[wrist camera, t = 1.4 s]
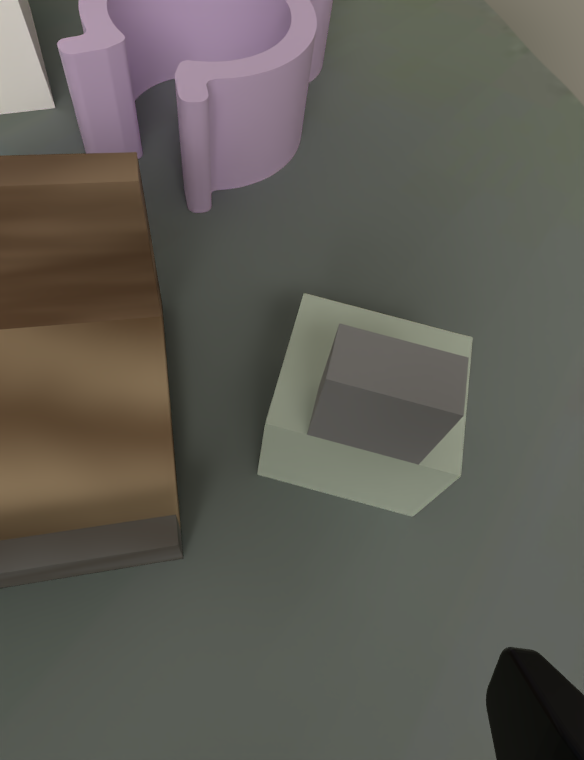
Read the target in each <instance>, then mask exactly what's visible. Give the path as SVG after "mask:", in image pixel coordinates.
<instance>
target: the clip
mask: <svg viewBox="0 0 584 760" xmlns="http://www.w3.org/2000/svg"><path fill="white" fill-rule="evenodd" d="M332 3H333V0H79V13H80V18H81V22H82V27H83V32H84V34H83V35H80V36H74V37H68V38H63V39H61V40H59V41H58V43H57V46H58V50H59V53H60V57H61V61H62V65H63V69H64V72H65V76H66V80H67V84H68V87H69V91H70V95H71V99H72V103H73V106H74V110H75V114H76V118H77V121H78V125H79V129H80V133H81V137H82V140H83V144H84V148H85V152H86V154H87V153H126V152H137V157H138V159H139V158H141V157H142V155H143V151H142V144H141V138H140V132H139V125H138V119H137V112H136V106H135V100H136V99H137V98H138V97H139V96H140V95H141V94H142V93H143V92H144V91H146V90H147V89H149V88H151V87H152V86H154V85H156V84H159V83H161V82H164V81H167V80H171V79H175V86H176V98H177V110H178V122H179V134H180V146H181V158H182V171H183V183H184V191H185V197H186V202H187V207H188V209H189V210H190V211H192V212H194V213H202V212H207V211H209V210H210V209H211V207H212V203H211V193H212V192H213V191H215V190H225V189H233V188H238V187H243V186H247V185H250V184H254V183H256V182H259V181H261V180H264V179H266V178H268V177H270V176H272V175H273V174H275V173H276V172H278V171H279V170H281V169H282V168H283V167H284V166H285V165H286V164H287V163H288V162H289V161H290V160H291V159H292V157H293V156H294V155H295V153H296V151H297V149H298V147H299V144H300V140H301V133H302V126H303V119H304V112H305V105H306V98H307V91H308V84H309V82H311V81H312V80H313V79H315V78H316V77H317V76H318V74H319V73H320V71H321V69H322V65H323V59H324V53H325V47H326V40H327V34H328V28H329V22H330V16H331V9H332Z"/></svg>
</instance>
